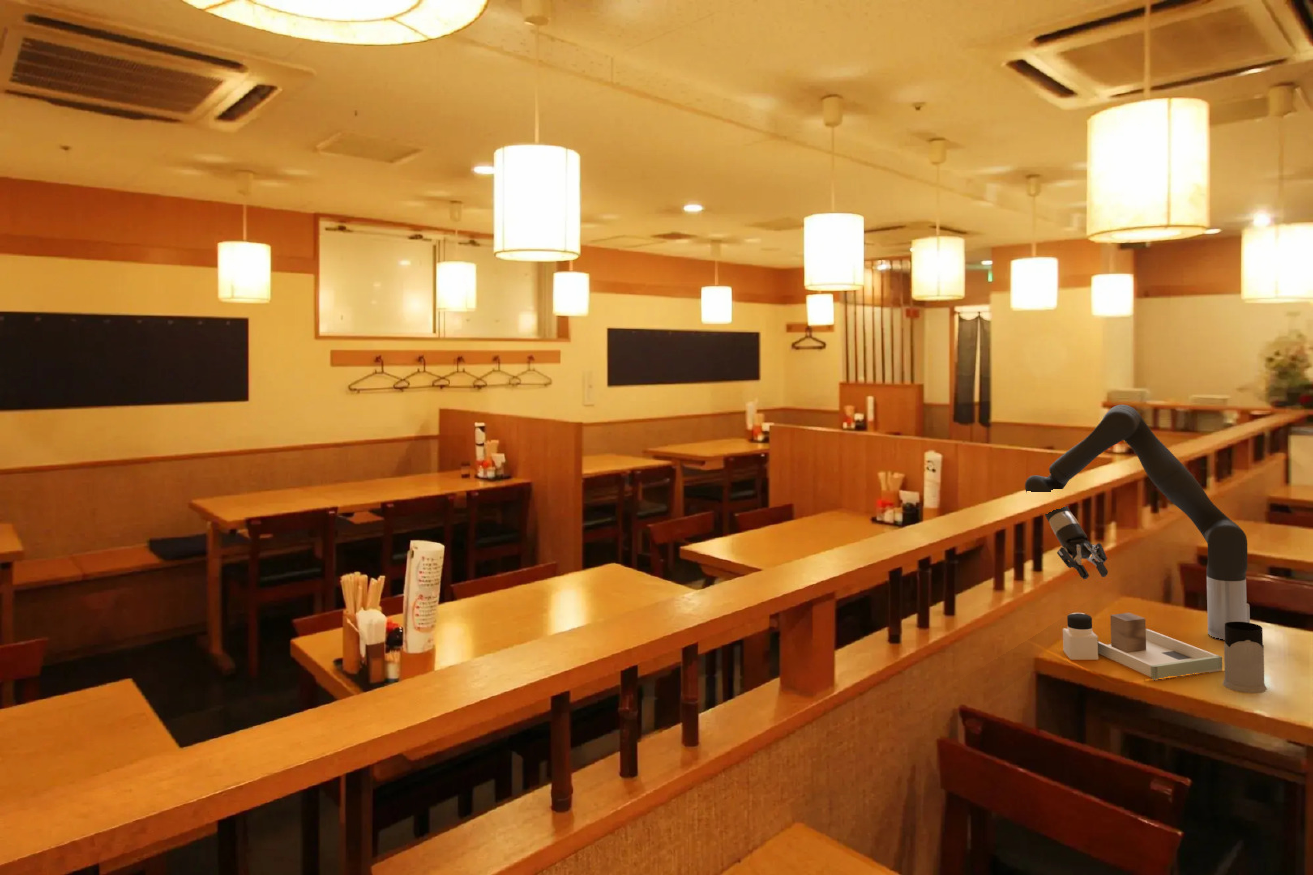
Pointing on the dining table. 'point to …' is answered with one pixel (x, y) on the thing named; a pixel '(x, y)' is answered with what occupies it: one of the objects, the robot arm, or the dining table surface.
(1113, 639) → the walnut block
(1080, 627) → the medicine bottle
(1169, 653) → the mat
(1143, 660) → the shallow white tray
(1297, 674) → the dining table surface
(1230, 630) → the glass holder
